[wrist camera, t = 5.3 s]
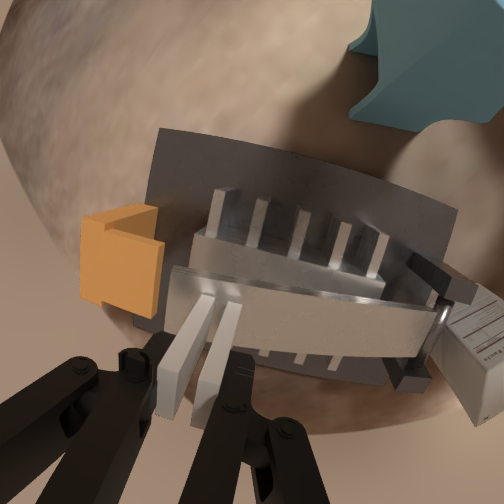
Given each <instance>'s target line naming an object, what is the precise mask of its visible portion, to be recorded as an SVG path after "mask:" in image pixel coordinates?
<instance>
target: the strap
mask: <svg viewBox="0 0 504 504" xmlns="http://www.w3.org/2000/svg"><path fill="white" fill-rule="evenodd" d="M202 294H203V295H207V296H211V297H214V298H215V303H214V307H213V312H212V317H211V322H210V327H209V332H208V337H207V341H206V342H212V343H213V340H214V337H215V335H216V332H217V330H218V327H219V324H220V322H221V319H222V317H223V314H224V311H225V309H226V306H227V304H228V301H230V302H233V303H237V304H241V305H242V308H241V312H240V316H239V320H238V324H237V328H236V332H235V336H234V340H233V344H232V346H239V347H246V348H254V349H263V350H272V351H281V352H292V353H303V354H316V355H332V356H354V357H409V358H408V359H407V361H408V363H409V364H410V365H411V366H413V367H415V368H418V369H421V368H423V366H424V364H425V362H426V361H427V359H428V357H429V355H430V354H431V352H432V350H433V348H434V346H435V344H436V342H437V340H438V338H439V336H440V334H441V333H442V330H443V328H444V326H445V324H446V322H447V320H448V318H449V316H450V314H451V311H452V309H453V307H454V305H455V301H452V300H448V299H445V298H443V297H442V296H441V295H438V297H437V300H436V302H435V304H434V307H433V308H431V307H429V306H421V305H413V304H406V303H399V302H392V301H384V300H377V299H371V298H364V297H357V296H350V295H344V294H337V293H331V292H325V291H318V290H312V289H306V288H300V287H294V286H288V285H282V284H276V283H270V282H264V281H259V280H253V279H247V278H242V277H236V276H231V275H225V274H220V273H214V272H209V271H204V270H198V269H193V268H188V267H183V266H178V265H173V268H172V270H171V274H170V282H169V290H168V298H167V306H166V315H165V325H164V331H165V332H168V333H171V334H174V335H177V334H178V332H179V330H180V329H181V327H182V326H183V324H184V322H185V321H186V319H187V317H188V316H189V314H190V313H191V311H192V309H193V308H194V306H195V304H196V303H197V301H198V300H199V298H200V296H201V295H202Z"/></svg>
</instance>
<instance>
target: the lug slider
mask: <svg viewBox="0 0 504 504" xmlns="http://www.w3.org/2000/svg"><path fill="white" fill-rule="evenodd" d="M158 209H159V208H158V207H154V206H150V205H146V204H141V203H138V204H134V205H129V206H125V207H121V208H117V209H113V210H109V211H105V212H101V213H97V214H93V215H90V216H86V217H82V228H81V248H80V297H81V298H82V299H84V300H86V301H89V302H91V303H94V304H96V305H98V306H101V307H102V306H103V305H104V304H106V303H109V304H111V305H114V306H116V307H119V308H121V309H124V310H127V311H129V312H132V313H135V314H138V315H140V316H143V317H146V318H149V319H152V318H153V316H154V315H155V314H156V313H157V307H158V297H159V288H160V279H161V271H162V263H163V256H164V248H165V243H164V242H160V241H156V240H154V235H155V228H156V221H157V215H158Z"/></svg>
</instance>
